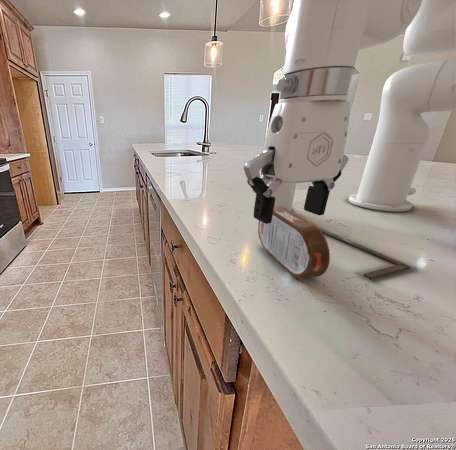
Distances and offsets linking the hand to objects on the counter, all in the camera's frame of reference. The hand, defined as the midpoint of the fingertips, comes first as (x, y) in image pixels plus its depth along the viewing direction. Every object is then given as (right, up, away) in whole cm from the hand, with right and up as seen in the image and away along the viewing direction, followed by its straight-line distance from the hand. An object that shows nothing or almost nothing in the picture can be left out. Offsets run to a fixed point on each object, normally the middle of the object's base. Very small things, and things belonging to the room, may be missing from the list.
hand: (288, 216), depth 37 cm
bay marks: (+11, -5, +8) cm, 15 cm away
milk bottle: (+11, +3, +26) cm, 28 cm away
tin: (+1, -8, +3) cm, 8 cm away
